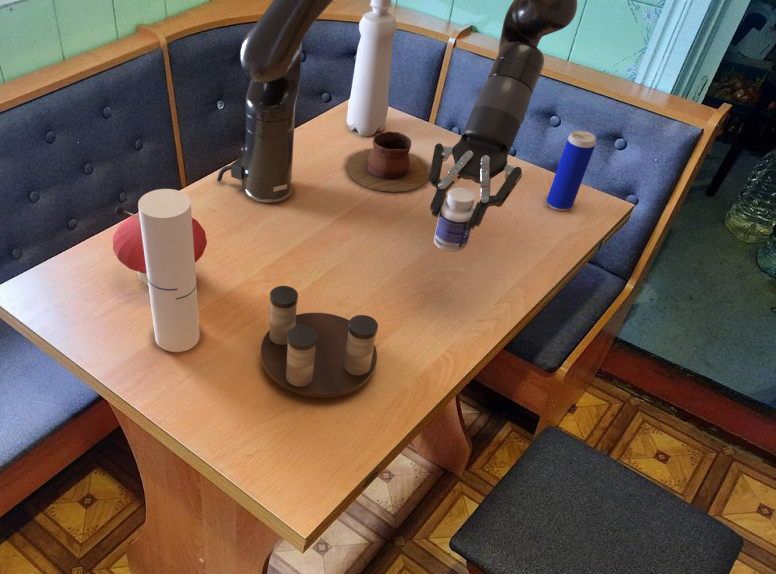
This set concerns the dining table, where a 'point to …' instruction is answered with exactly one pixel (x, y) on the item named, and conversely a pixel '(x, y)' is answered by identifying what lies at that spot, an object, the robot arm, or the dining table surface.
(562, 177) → the beverage can
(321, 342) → the spice rack
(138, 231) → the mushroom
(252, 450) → the dining table surface
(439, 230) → the pill bottle
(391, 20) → the bottle
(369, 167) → the ceramic pot
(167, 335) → the cylindrical container
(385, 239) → the dining table surface
